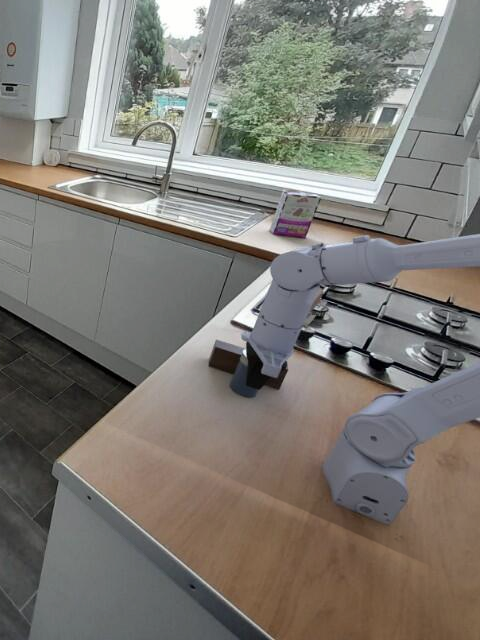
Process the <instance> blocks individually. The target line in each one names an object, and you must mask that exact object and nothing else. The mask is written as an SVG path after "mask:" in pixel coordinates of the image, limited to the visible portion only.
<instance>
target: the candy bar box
mask: <svg viewBox="0 0 480 640" xmlns="http://www.w3.org/2000/svg"><path fill="white" fill-rule="evenodd" d="M282 192H283V193H281V195H282V196H281V195H280V198H281V199H280V198H279V200H280V202H279V201H278V205H277V207H276V210H275V213H274V215H273V219H272V222H271V224H270V227H269V232H270V233H272V234H273V235H278V236H284V237H285V236H286V237H294V238H303V239H306V237H307V235H308V232H309V230H310V228H311V225H312V223H313V221H314V218H315V215H316V213H317V210H318V208H319V205H320V202H321V200H322V196H321V195H318V194H316V193H307V192H303V193H297V192H285V191H283V190H282Z"/></svg>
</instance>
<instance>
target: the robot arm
mask: <svg viewBox="0 0 480 640" xmlns="http://www.w3.org/2000/svg"><path fill="white" fill-rule="evenodd" d="M473 267H475V268H476V267H480V233H476V234H470V235H463V236H456V237H449V238H442V239H435V240H427V241H422V242H415V243H408V244H402V245H399V244H396V243H394V242H392V241H389V240H388V239H385V238H382V237H375V238H371V237H370V235H369V234H366V235H365V234H364V235H358V236H355V237H352V241H348V242H347V241H346V242H342V243H341V242H339V243H334V244H327V245H325V244H324V243H323V242H318V243H313V244H311V246H302V247H299V248H296V249H292V250H290V251H287V252H284V253H281V254H278V255H277V256H276V257H275V258H273V260H272V261H271V264H270V267H269V272H270V276H271V278H272V280H271V282H270V286H269V288H268V290H267V292H266V294H265V297H264V300H263V302H262V305H261V308H260V310H259V312H258V315H257V317H256V320H255V323H254V326H253V328H252V331H251V332H248V331H242V333H241V335H240V337H241V340H242V341H244V342H245V348H246V355H247V360H248V365H247V371H246V386H249V387H252V388H255V389H258V391H260V390H261V389H262V388H263V387H264V386H265V384H266V383H267V382H268V381H269V380H270V378H272V377H274V378H277V377H278V375H279V373H280V372H281V371H283V370H285V369H286V368H287V364H288V360H289V358H290V357H291V356H292V355H293V353H294V348H295V344H296V342H297V340H298V338H299V336H300V333H301V332H302V329H303V326H304V325H303V324H304V322H305V320H306V317H307V315H308V313H309V311H310V309H311V306H312V304H313V302H314V298H315V296H316V294H317V291H318V289H319V288H320V287H321V285H327V286H339V285H354V284H357V285H358V284H373V283H385V282H386V283H387V282H391V281H393V280H395V278H396V277H397V276H398V275H399V274H400V273H401V272H402V271H417V270H434V269H435V270H437V269H453V268H473ZM479 418H480V361H479V362H477V363H474V364H472V365H470V366H468V367H465V368H463V369H460V370H459V371H456V372H454V373H452V374H449V375H447V376H445V377H443V378H441V379H439V380H435V381H434V382H432V383H429V384H427V385H425V386H422V387H415V388H412V389H410V390H408V391H405V392H385V393H381V394H379V395H377V396H376V397H374V399H373V400H372V401H371V402H370V403H369V404H368V405H366V406H365V407H363V408H362V409H361V410H360V411H358V412H357V413H354V414H351V415H350V416H349V417H347V419H346V420H345V423H344V428H343V430H342V431H341V433H340V435H339V436H338V438H337V440H336V442H335V443H334V445H333V447H332V449H331V450H330V452H329V454H328V455H327V457H326V459H325V461H324V462H323V464H322V466H321V472H322V476H323V477H324V478H325V480H326V482H327V483H328V486H329V488H330V489H329V490H330V493H331V498H332V502H333V503H334V504H336V505H339V506H342V508H346V509H348V510H351V511H353V512H355V513H358V514H360V515H363V516H365V517H367V518H370V519H372V520H374V521H376V522H379V523H381V524H383V525H386V526H391V524H392V523H393V522H394V520H395V519H396V517H397V516H398V515H399V514H400V512H401V511H402V509H403V508H404V507H405V505H406V504H407V503H408V501H409V498H410V496H409V490H408V486H407V476H408V472H409V470H410V469H411V468H412V466H413V465H414V464H415V461H416V456H415V453H416V452H415V448H416V447H417V446H419V445H422V444H425V443H427V442H428V441H430V440H432V439H433V438H435V437H437V436H439V435H441V434H442V433H444V432H445V431H447V430H450V429H451V428H454V427H457V426H460V425H463V424H465V423H468V422H472V421H473V420H476V419H479Z"/></svg>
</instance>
